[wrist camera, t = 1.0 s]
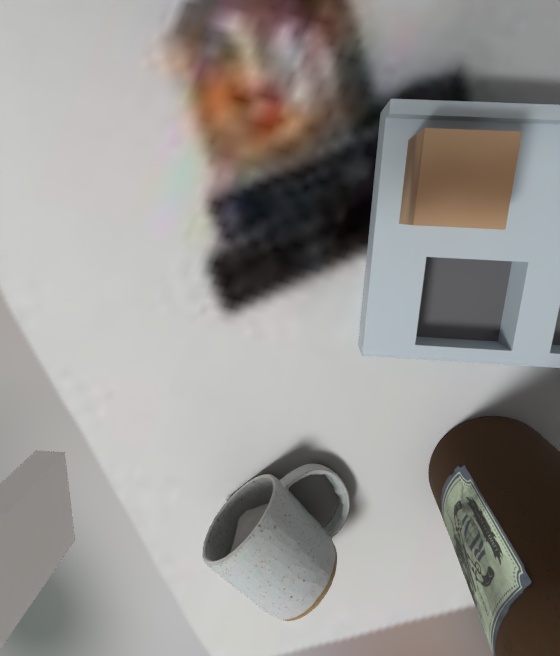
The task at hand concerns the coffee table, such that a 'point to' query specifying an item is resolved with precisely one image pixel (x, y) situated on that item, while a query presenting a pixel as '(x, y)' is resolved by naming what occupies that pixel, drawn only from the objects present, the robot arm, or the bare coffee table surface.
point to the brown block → (459, 178)
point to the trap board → (466, 249)
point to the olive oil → (504, 528)
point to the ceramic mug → (276, 544)
